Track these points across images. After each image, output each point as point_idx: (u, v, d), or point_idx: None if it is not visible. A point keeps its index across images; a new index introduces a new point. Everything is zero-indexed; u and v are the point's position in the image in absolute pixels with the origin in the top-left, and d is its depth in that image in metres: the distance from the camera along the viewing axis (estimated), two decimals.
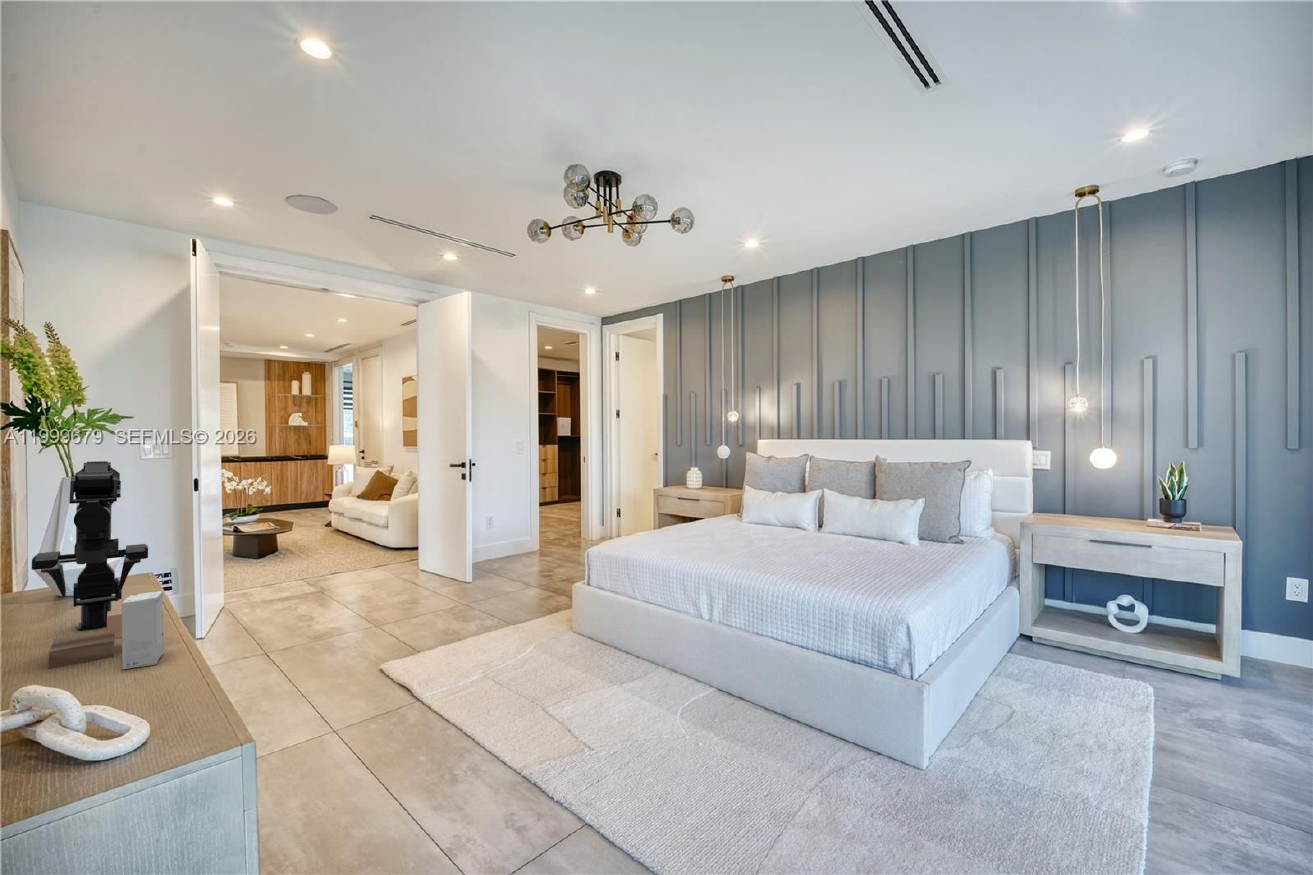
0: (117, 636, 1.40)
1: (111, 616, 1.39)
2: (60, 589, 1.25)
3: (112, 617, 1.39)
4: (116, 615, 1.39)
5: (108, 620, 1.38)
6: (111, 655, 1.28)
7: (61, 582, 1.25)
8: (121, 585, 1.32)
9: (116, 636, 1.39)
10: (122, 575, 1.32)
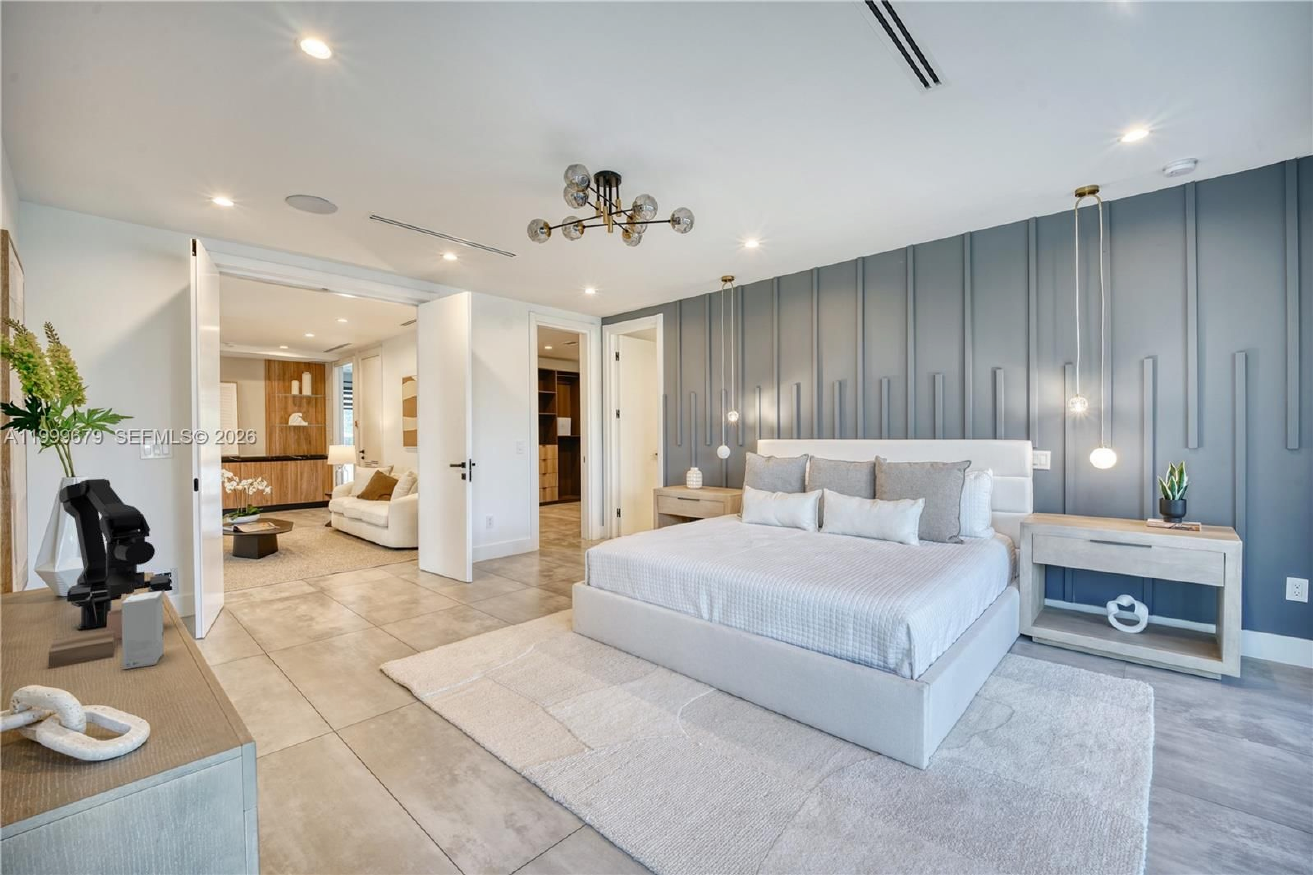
0: (117, 636, 1.40)
1: (111, 616, 1.39)
2: (92, 618, 1.38)
3: (112, 617, 1.39)
4: (116, 615, 1.39)
5: (108, 620, 1.38)
6: (111, 655, 1.28)
7: (93, 612, 1.38)
8: None
9: (116, 636, 1.39)
10: None
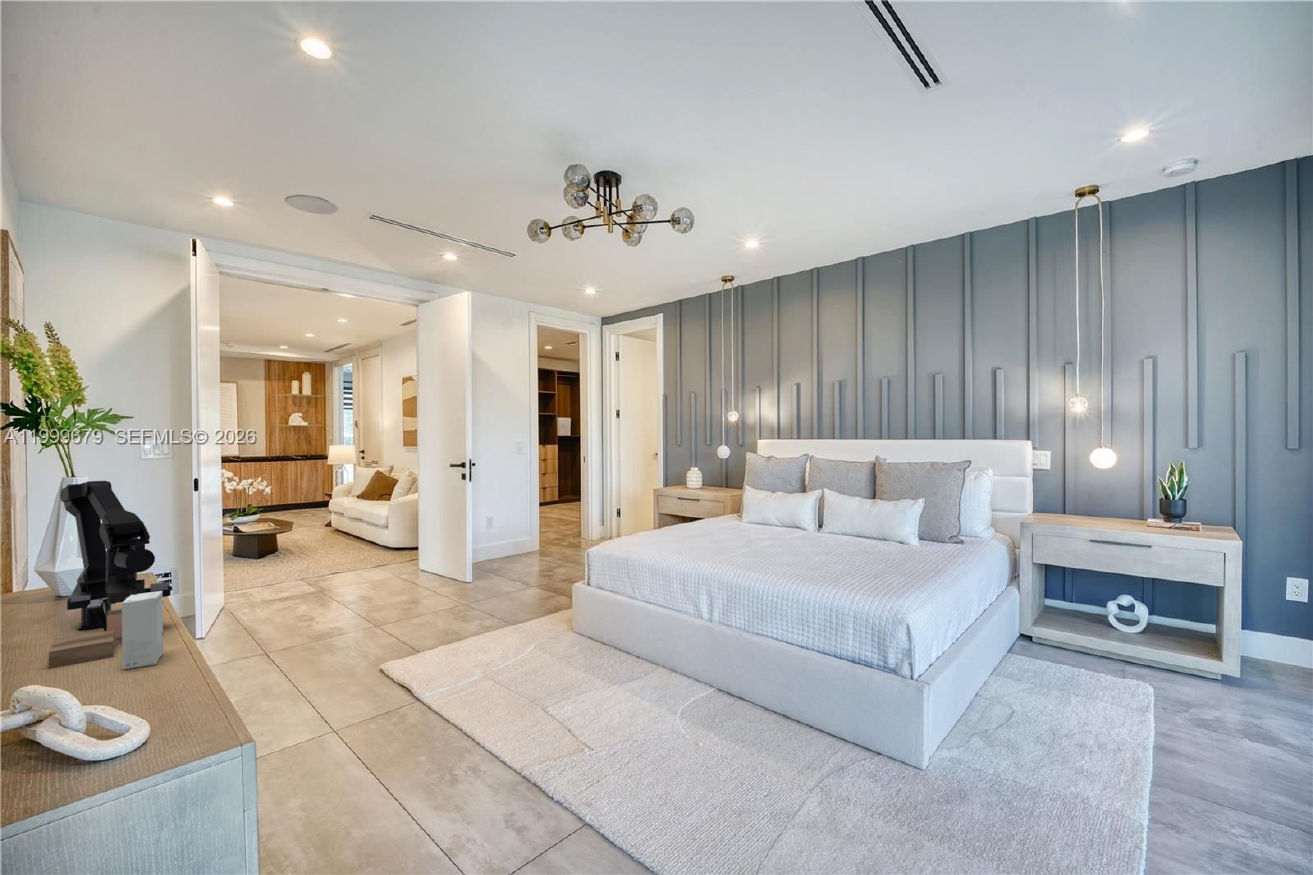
0: (117, 636, 1.40)
1: (111, 616, 1.39)
2: (103, 624, 1.39)
3: (112, 617, 1.39)
4: (116, 615, 1.39)
5: (108, 620, 1.38)
6: (111, 655, 1.28)
7: (104, 618, 1.39)
8: None
9: (116, 636, 1.39)
10: None
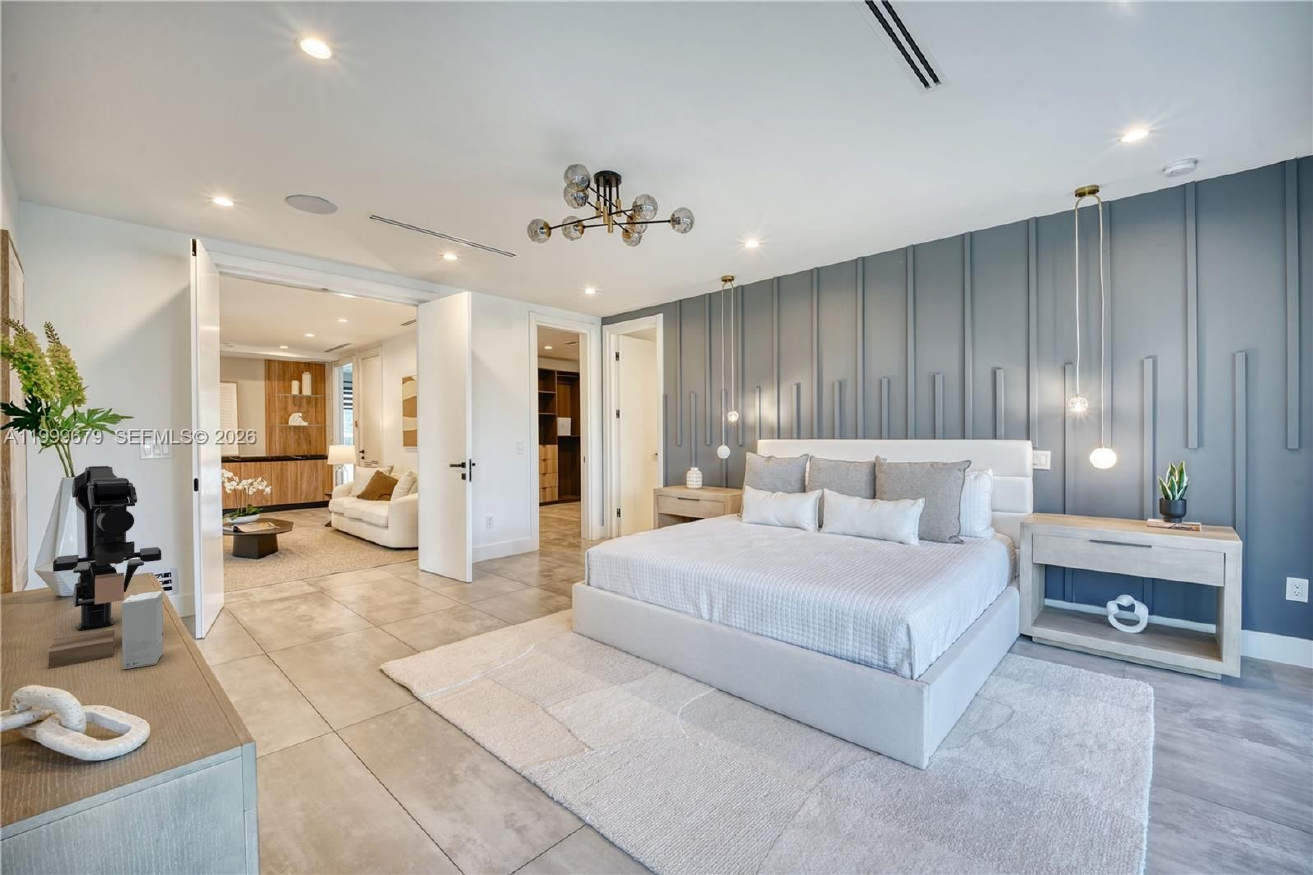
0: (106, 600, 1.34)
1: (99, 579, 1.34)
2: (90, 589, 1.34)
3: (100, 580, 1.34)
4: (105, 578, 1.34)
5: (96, 583, 1.33)
6: (111, 655, 1.28)
7: (91, 582, 1.34)
8: (125, 587, 1.38)
9: (105, 600, 1.34)
10: (126, 578, 1.38)
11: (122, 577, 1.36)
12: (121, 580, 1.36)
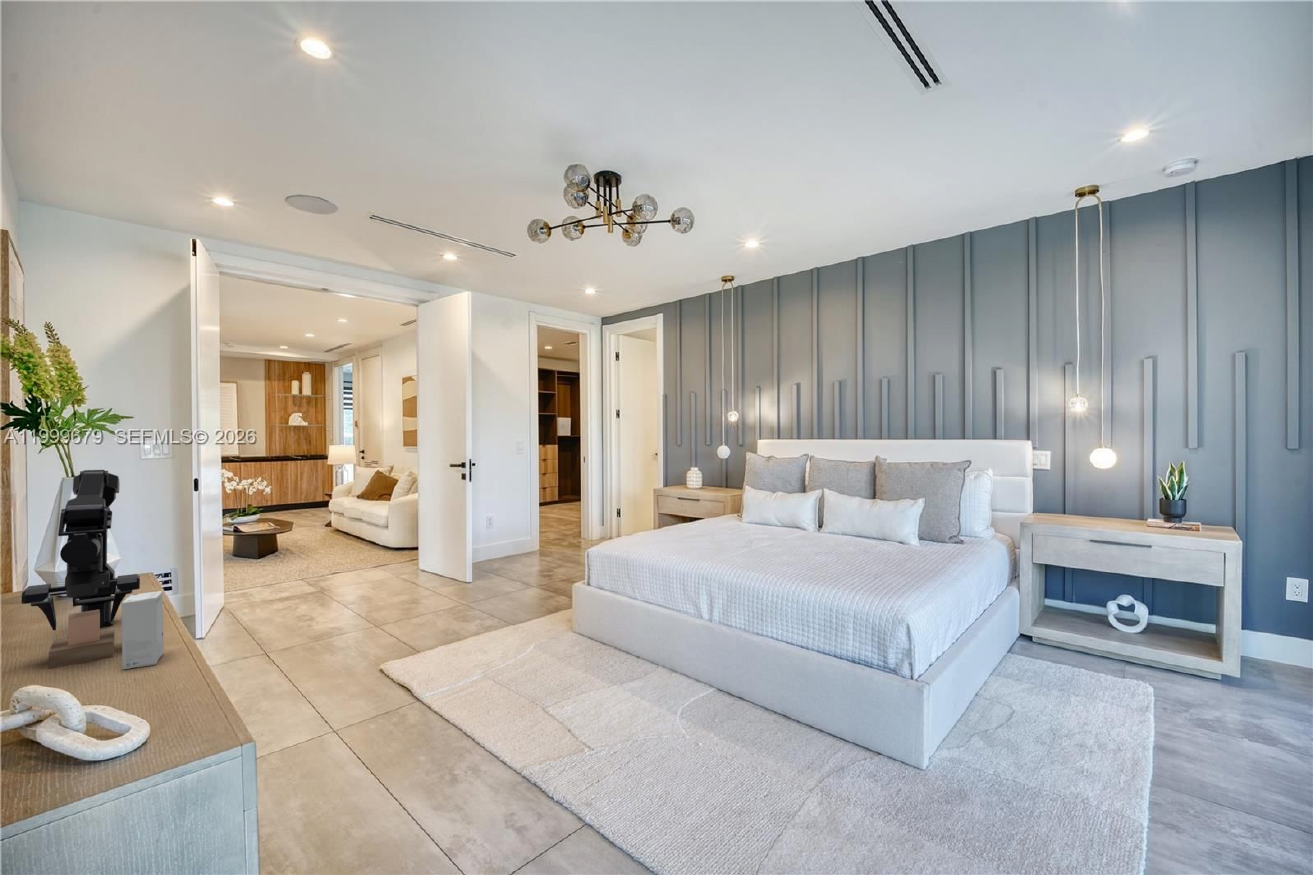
0: (80, 641, 1.26)
1: (73, 619, 1.25)
2: (50, 622, 1.24)
3: (74, 620, 1.25)
4: (79, 618, 1.26)
5: (70, 623, 1.25)
6: (111, 655, 1.28)
7: (51, 615, 1.24)
8: (112, 616, 1.31)
9: (79, 641, 1.26)
10: (113, 606, 1.31)
11: (98, 616, 1.28)
12: (96, 619, 1.28)
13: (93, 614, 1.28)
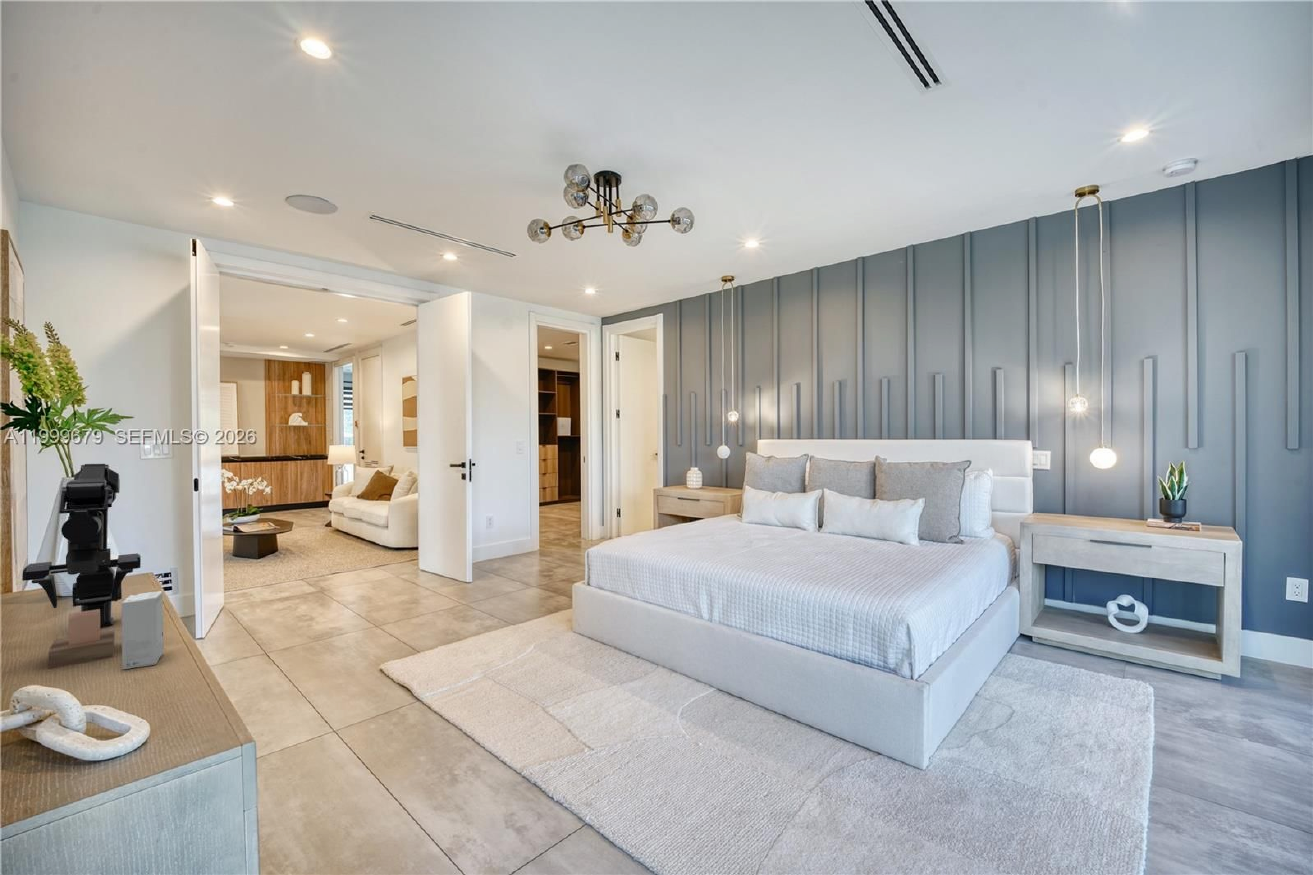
0: (80, 641, 1.26)
1: (73, 619, 1.26)
2: (51, 600, 1.24)
3: (75, 620, 1.26)
4: (79, 618, 1.26)
5: (70, 623, 1.25)
6: (111, 655, 1.28)
7: (52, 593, 1.24)
8: (113, 595, 1.31)
9: (79, 641, 1.26)
10: (114, 585, 1.31)
11: (98, 615, 1.28)
12: (97, 619, 1.28)
13: (93, 614, 1.28)
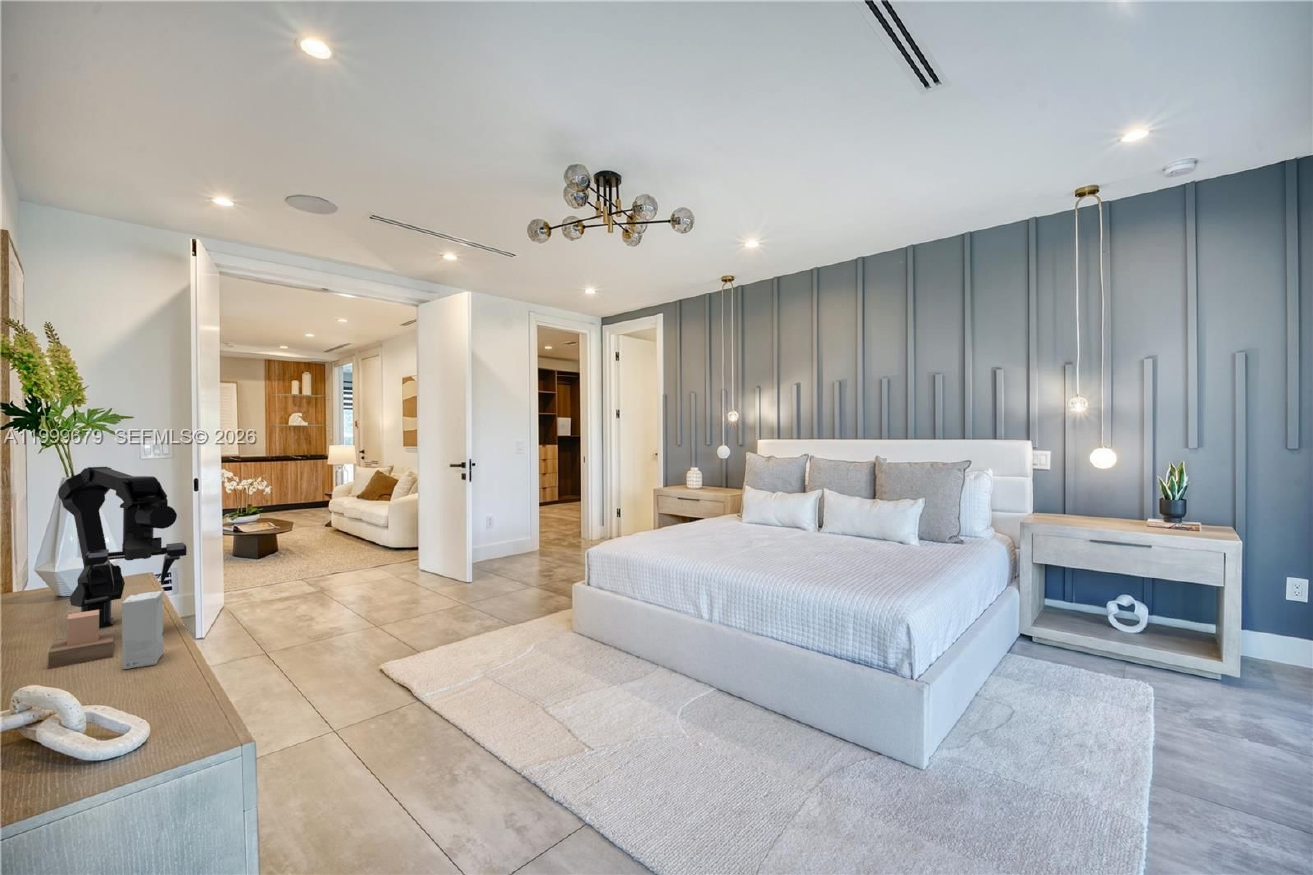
0: (79, 641, 1.26)
1: (72, 619, 1.25)
2: (109, 583, 1.38)
3: (73, 620, 1.26)
4: (78, 618, 1.26)
5: (69, 624, 1.25)
6: (111, 656, 1.28)
7: (110, 577, 1.38)
8: (162, 580, 1.45)
9: (78, 641, 1.26)
10: (163, 571, 1.45)
11: (97, 616, 1.28)
12: (96, 619, 1.28)
13: (92, 614, 1.28)
